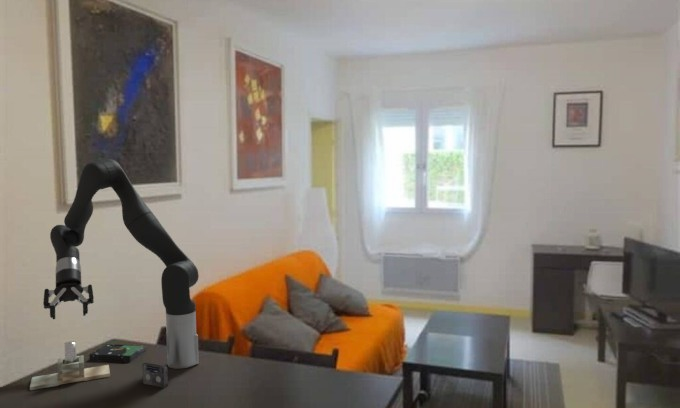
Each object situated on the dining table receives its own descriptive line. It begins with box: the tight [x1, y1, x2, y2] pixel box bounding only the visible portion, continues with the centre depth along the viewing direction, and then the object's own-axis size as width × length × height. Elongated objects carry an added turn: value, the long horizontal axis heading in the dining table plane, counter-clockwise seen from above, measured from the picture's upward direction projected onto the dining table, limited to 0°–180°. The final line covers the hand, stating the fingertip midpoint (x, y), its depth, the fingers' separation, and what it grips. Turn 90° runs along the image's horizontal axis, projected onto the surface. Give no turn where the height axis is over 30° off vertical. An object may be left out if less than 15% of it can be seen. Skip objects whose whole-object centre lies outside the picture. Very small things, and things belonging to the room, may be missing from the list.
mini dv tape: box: [141, 362, 169, 389], centre depth 150 cm, size 8×2×6 cm, turn 65°
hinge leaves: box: [29, 354, 111, 391], centre depth 155 cm, size 21×8×6 cm, turn 117°
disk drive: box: [88, 343, 147, 363], centre depth 174 cm, size 10×3×15 cm
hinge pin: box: [64, 340, 77, 364], centre depth 155 cm, size 3×3×10 cm
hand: (69, 316), depth 162 cm, fingers open, 8 cm apart
